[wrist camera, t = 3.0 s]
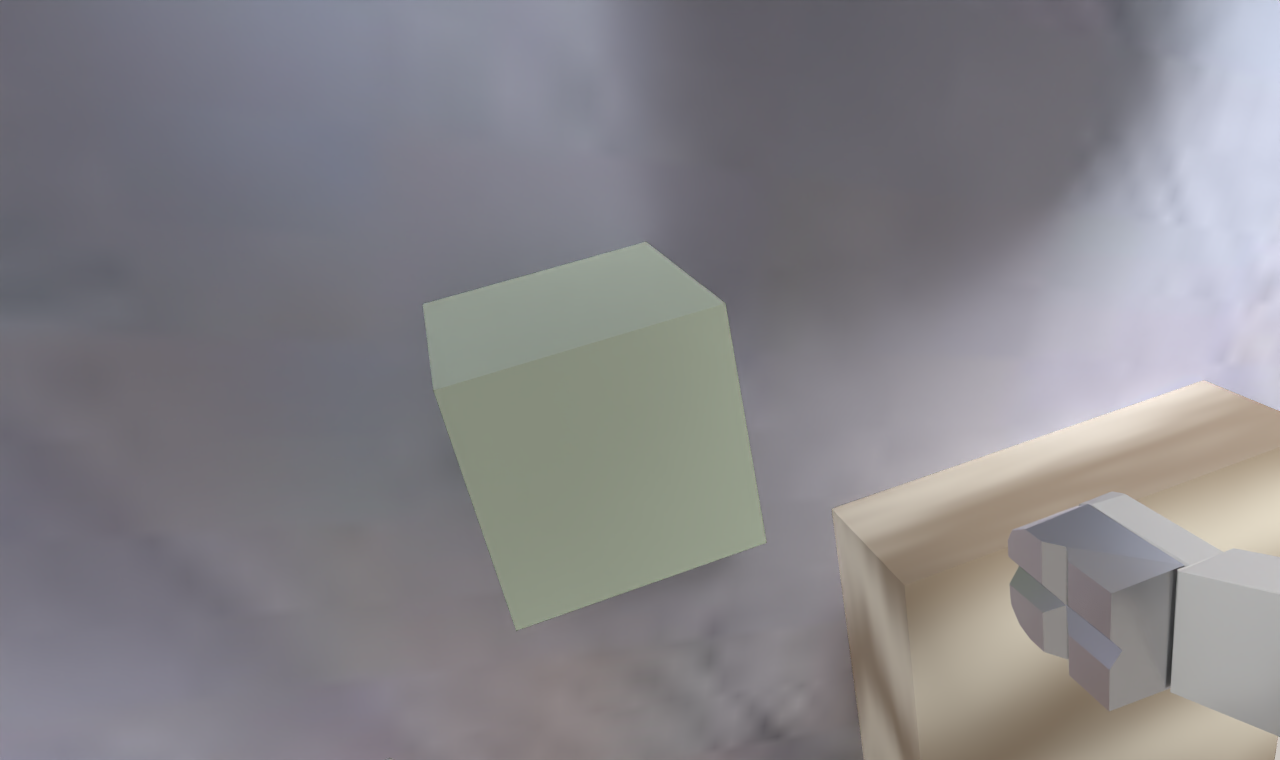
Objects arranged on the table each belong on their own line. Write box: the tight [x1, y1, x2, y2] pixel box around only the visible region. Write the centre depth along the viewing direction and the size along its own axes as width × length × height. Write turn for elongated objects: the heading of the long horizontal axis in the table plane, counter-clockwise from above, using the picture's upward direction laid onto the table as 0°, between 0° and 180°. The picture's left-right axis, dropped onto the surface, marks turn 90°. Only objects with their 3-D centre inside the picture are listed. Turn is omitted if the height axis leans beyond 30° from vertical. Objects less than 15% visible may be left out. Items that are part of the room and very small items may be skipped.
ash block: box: [832, 380, 1280, 760], centre depth 25 cm, size 12×12×4 cm
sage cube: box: [423, 242, 767, 631], centre depth 17 cm, size 5×5×5 cm
